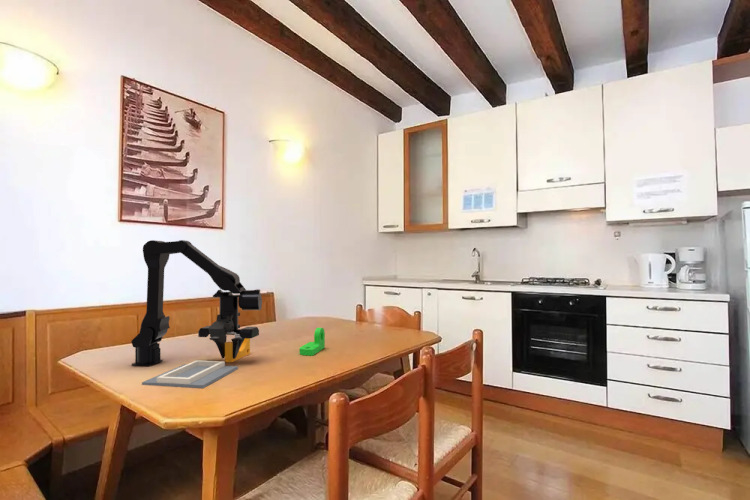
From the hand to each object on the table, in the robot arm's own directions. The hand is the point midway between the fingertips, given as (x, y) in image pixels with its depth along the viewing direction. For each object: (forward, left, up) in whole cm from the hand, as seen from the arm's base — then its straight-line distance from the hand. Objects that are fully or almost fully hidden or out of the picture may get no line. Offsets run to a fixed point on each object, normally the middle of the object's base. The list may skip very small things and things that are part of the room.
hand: (228, 358), depth 128 cm
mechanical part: (+22, +19, -2) cm, 29 cm away
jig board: (-2, -16, -1) cm, 16 cm away
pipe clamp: (-1, +6, -2) cm, 6 cm away
